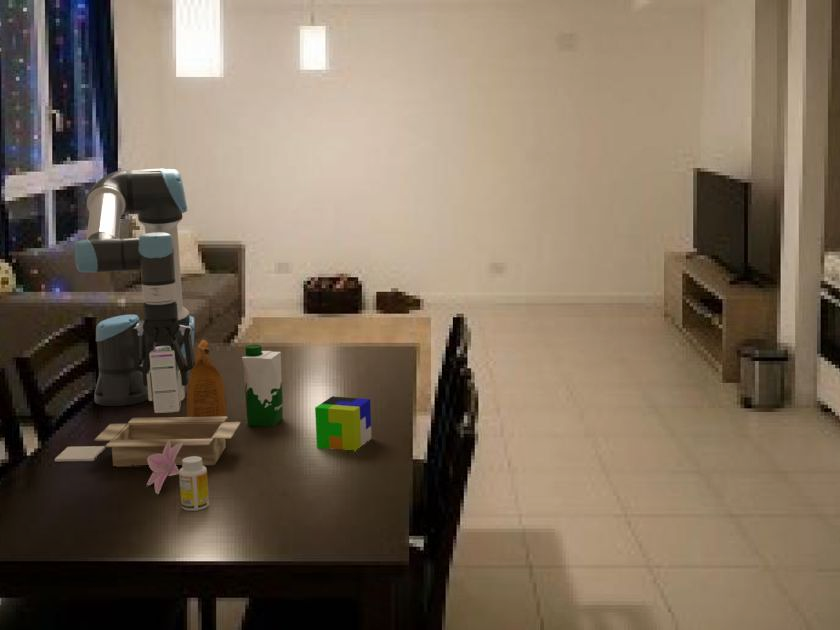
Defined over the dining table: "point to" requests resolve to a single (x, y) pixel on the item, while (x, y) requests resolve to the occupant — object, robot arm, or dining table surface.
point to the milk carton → (263, 386)
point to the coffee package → (205, 388)
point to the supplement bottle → (193, 484)
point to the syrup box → (164, 380)
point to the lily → (163, 465)
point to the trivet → (80, 453)
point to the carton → (168, 438)
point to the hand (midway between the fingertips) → (166, 398)
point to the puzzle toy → (343, 423)
